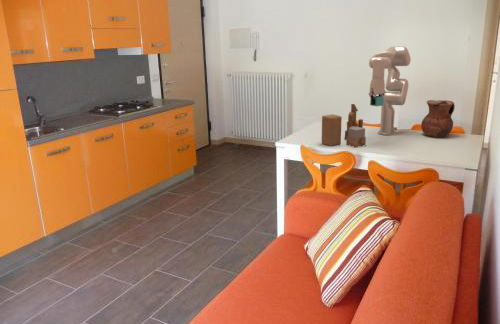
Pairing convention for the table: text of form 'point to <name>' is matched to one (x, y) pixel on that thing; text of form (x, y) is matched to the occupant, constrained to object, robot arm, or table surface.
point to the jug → (438, 118)
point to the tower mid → (356, 132)
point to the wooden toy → (353, 120)
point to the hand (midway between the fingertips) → (376, 103)
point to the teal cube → (378, 101)
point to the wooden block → (331, 129)
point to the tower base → (356, 141)
